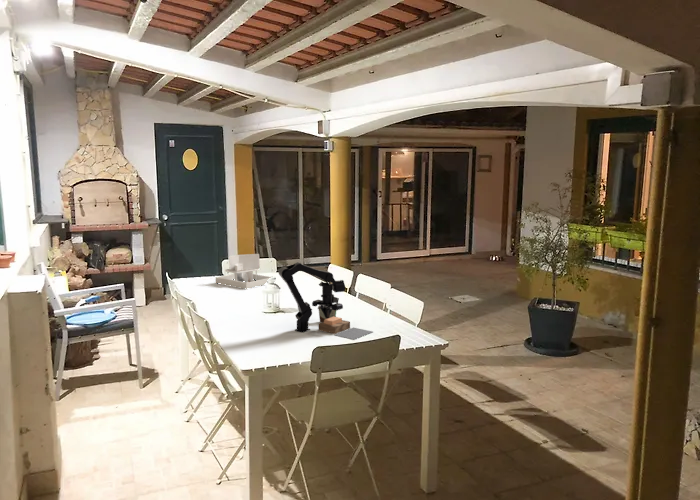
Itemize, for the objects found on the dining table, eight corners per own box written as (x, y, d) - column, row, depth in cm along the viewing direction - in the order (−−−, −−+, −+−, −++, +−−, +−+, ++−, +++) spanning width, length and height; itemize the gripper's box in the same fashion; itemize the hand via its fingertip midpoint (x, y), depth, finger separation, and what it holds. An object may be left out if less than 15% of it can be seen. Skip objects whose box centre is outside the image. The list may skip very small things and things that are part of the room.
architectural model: (237, 288, 432) (236, 258, 428) (222, 284, 446) (221, 255, 443) (266, 283, 451) (266, 254, 448) (251, 279, 466) (250, 252, 463)
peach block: (332, 324, 316) (332, 321, 316) (324, 323, 320) (324, 319, 319) (341, 321, 323) (341, 318, 323) (333, 319, 327) (333, 316, 327)
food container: (340, 321, 339) (340, 305, 338) (336, 323, 333) (336, 307, 332) (321, 319, 343) (321, 303, 341) (317, 322, 337) (317, 305, 335)
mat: (354, 339, 302) (354, 339, 302) (334, 335, 310) (334, 334, 310) (373, 332, 316) (373, 331, 316) (353, 327, 324) (353, 327, 324)
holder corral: (246, 289, 427) (246, 283, 426) (215, 283, 448) (215, 277, 447) (273, 283, 449) (273, 277, 449) (242, 278, 471) (242, 272, 470)
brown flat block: (335, 334, 312) (335, 327, 312) (318, 330, 320) (318, 323, 319) (350, 328, 323) (350, 321, 323) (333, 324, 331) (333, 318, 330)
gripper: (348, 292, 323) (348, 318, 325) (323, 288, 334) (323, 313, 336) (336, 296, 314) (336, 323, 316) (311, 291, 325) (311, 317, 327)
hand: (327, 319), depth 324 cm, fingers closed
